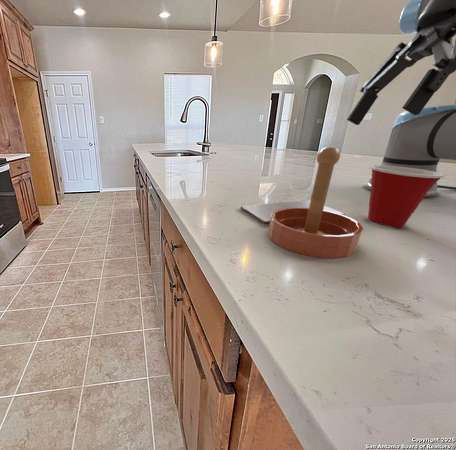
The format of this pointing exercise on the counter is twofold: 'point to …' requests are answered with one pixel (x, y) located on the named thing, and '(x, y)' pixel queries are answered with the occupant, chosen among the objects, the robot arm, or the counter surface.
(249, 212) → the board
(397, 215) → the plastic cup
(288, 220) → the bowl
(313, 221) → the stirrer
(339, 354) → the counter surface
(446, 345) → the counter surface
